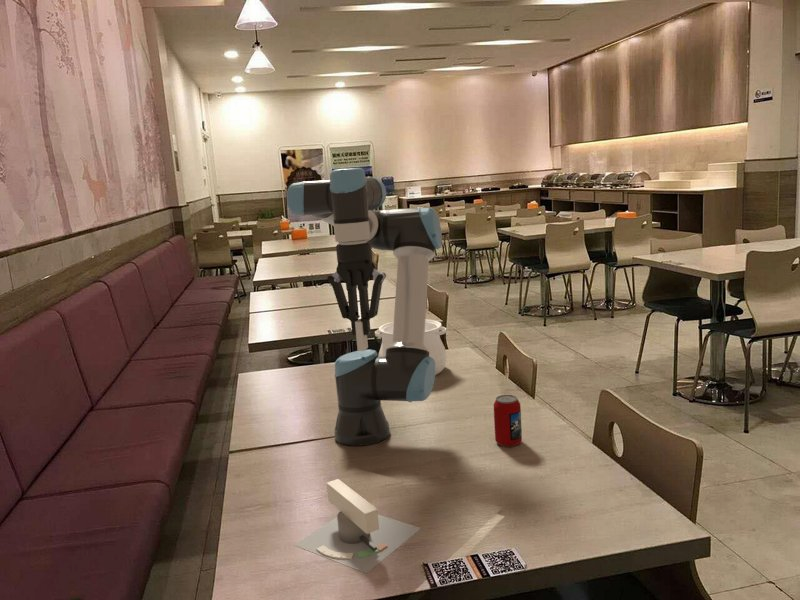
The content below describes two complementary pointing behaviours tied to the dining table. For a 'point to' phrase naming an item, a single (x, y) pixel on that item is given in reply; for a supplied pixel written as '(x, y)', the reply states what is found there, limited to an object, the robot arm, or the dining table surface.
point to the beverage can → (507, 420)
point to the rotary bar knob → (353, 514)
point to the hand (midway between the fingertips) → (362, 349)
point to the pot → (430, 341)
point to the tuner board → (359, 554)
